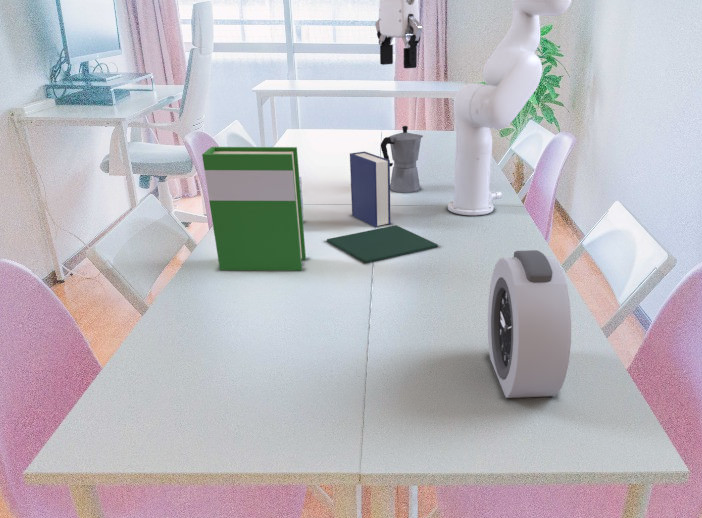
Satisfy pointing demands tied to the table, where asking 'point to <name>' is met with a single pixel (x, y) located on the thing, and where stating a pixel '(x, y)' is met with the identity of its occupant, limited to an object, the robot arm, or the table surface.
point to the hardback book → (256, 207)
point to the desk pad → (381, 243)
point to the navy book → (370, 188)
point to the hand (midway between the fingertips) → (398, 66)
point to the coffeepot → (403, 160)
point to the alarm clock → (529, 324)
